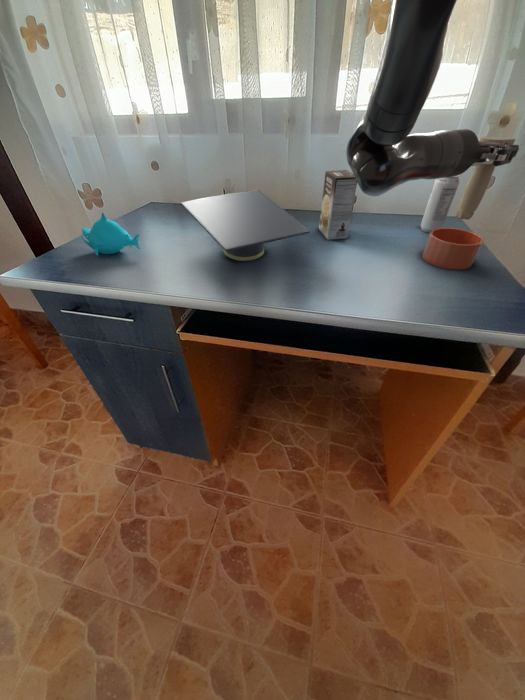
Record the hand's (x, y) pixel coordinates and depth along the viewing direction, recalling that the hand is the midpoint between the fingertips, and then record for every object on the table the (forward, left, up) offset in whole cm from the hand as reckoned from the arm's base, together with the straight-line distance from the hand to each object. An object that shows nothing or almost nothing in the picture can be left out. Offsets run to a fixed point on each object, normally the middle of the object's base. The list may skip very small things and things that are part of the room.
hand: (500, 149), depth 61 cm
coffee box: (+32, +7, -23) cm, 41 cm away
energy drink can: (+12, -16, -23) cm, 31 cm away
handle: (+1, +3, -13) cm, 13 cm away
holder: (+1, +2, -23) cm, 23 cm away
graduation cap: (+41, +35, -23) cm, 59 cm away
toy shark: (+66, +59, -23) cm, 92 cm away
